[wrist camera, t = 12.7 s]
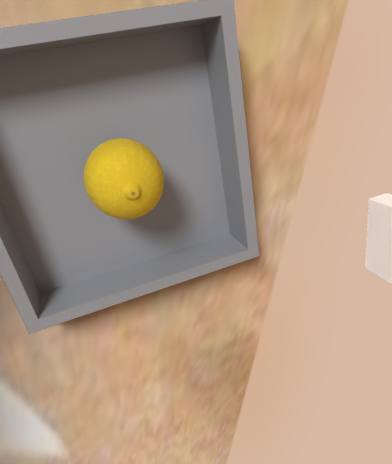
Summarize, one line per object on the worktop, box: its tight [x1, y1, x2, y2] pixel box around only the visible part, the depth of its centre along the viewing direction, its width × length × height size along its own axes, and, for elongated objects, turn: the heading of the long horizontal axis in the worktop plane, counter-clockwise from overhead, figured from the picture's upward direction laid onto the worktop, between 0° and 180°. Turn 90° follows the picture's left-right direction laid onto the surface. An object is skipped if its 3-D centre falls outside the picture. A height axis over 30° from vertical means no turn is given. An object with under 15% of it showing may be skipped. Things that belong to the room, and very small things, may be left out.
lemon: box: [83, 138, 164, 219], centre depth 25 cm, size 6×6×8 cm
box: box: [0, 0, 259, 334], centre depth 27 cm, size 20×20×4 cm
